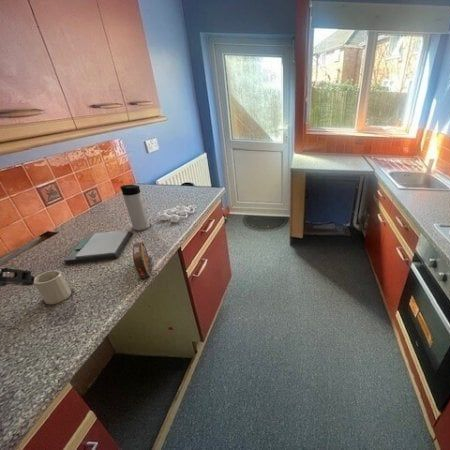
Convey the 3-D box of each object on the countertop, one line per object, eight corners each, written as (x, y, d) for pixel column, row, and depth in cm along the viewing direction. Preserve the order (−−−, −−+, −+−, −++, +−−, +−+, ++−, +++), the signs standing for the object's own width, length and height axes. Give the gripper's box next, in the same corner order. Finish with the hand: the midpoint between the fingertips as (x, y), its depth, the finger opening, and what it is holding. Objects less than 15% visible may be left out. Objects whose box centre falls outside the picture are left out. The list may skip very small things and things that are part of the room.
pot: (41, 307, 69) (27, 285, 65) (52, 293, 73) (40, 271, 70) (66, 303, 70) (54, 281, 66) (75, 290, 75) (65, 268, 71)
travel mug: (129, 230, 107) (115, 186, 97) (142, 224, 112) (130, 181, 103) (141, 233, 105) (127, 188, 96) (153, 226, 111) (142, 183, 101)
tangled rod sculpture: (181, 207, 132) (179, 199, 131) (204, 209, 129) (203, 201, 127) (152, 221, 116) (150, 213, 114) (177, 224, 112) (175, 216, 110)
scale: (66, 265, 85) (63, 259, 83) (89, 238, 100) (87, 232, 98) (117, 259, 89) (114, 253, 87) (132, 235, 104) (130, 229, 102)
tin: (150, 281, 80) (144, 259, 76) (139, 284, 78) (132, 262, 74) (149, 256, 91) (143, 237, 87) (139, 259, 90) (132, 239, 86)
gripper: (-17, 249, 44) (48, 263, 59) (-131, 259, 40) (-30, 271, 55) (-25, 292, 42) (45, 295, 57) (-145, 307, 38) (-37, 306, 53)
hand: (8, 283), depth 56 cm, fingers open, 8 cm apart
